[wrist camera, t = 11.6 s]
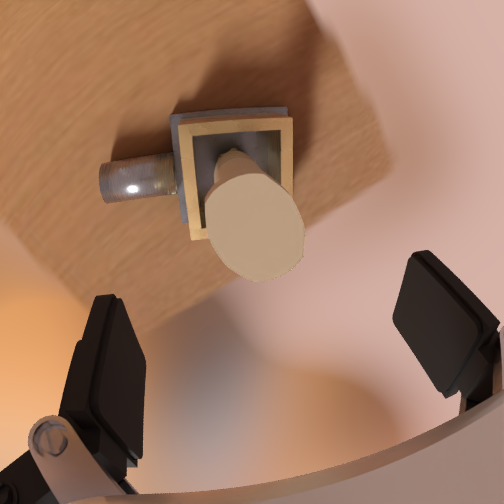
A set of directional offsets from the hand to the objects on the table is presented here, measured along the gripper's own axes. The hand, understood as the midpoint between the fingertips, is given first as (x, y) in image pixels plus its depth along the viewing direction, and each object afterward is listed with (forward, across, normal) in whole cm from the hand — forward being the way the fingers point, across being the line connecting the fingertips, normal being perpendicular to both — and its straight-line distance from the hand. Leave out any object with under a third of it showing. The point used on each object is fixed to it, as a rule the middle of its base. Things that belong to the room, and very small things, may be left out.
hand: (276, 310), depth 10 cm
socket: (+24, +2, +2) cm, 24 cm away
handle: (+23, -1, +2) cm, 23 cm away
